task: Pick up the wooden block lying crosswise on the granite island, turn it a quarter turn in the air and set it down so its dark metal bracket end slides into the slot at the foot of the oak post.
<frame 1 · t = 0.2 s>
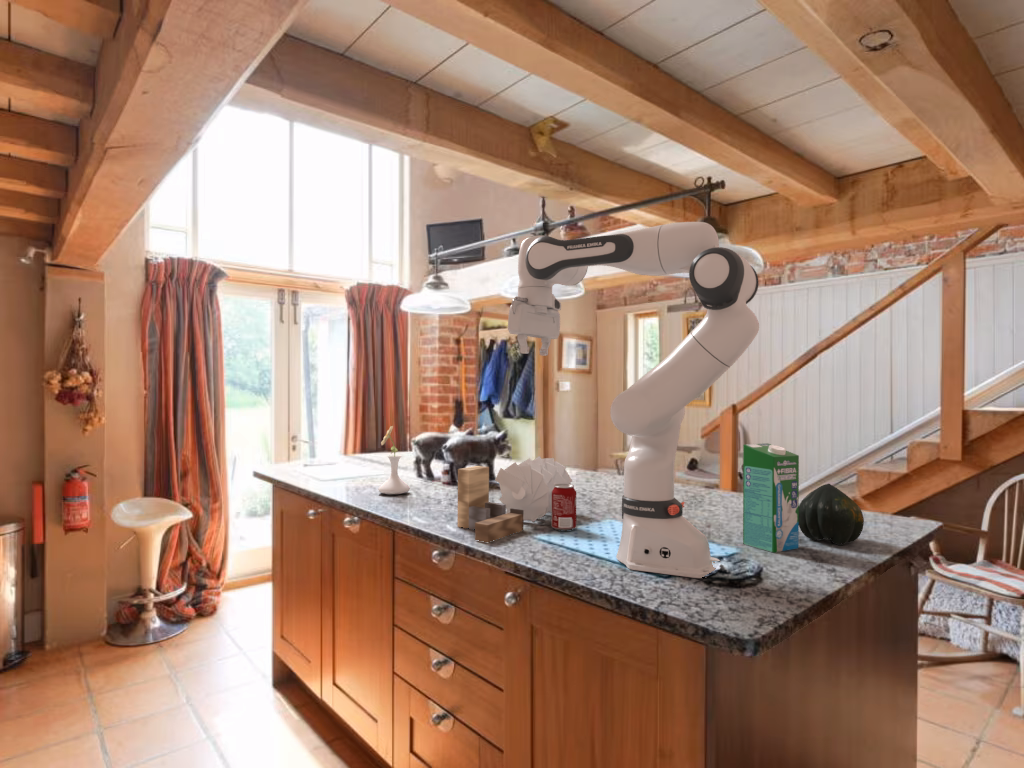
hand: (534, 354, 150), 47 cm above the worktop, tool pointing down, fingers open, 8 cm apart
wooden block: (500, 535, 153), on the worktop
soda can: (563, 529, 161), on the worktop
milk carton: (770, 547, 144), on the worktop
flower in vase: (393, 494, 212), on the worktop
post: (481, 526, 163), on the worktop
squash: (828, 541, 150), on the worktop
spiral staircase: (535, 517, 177), on the worktop
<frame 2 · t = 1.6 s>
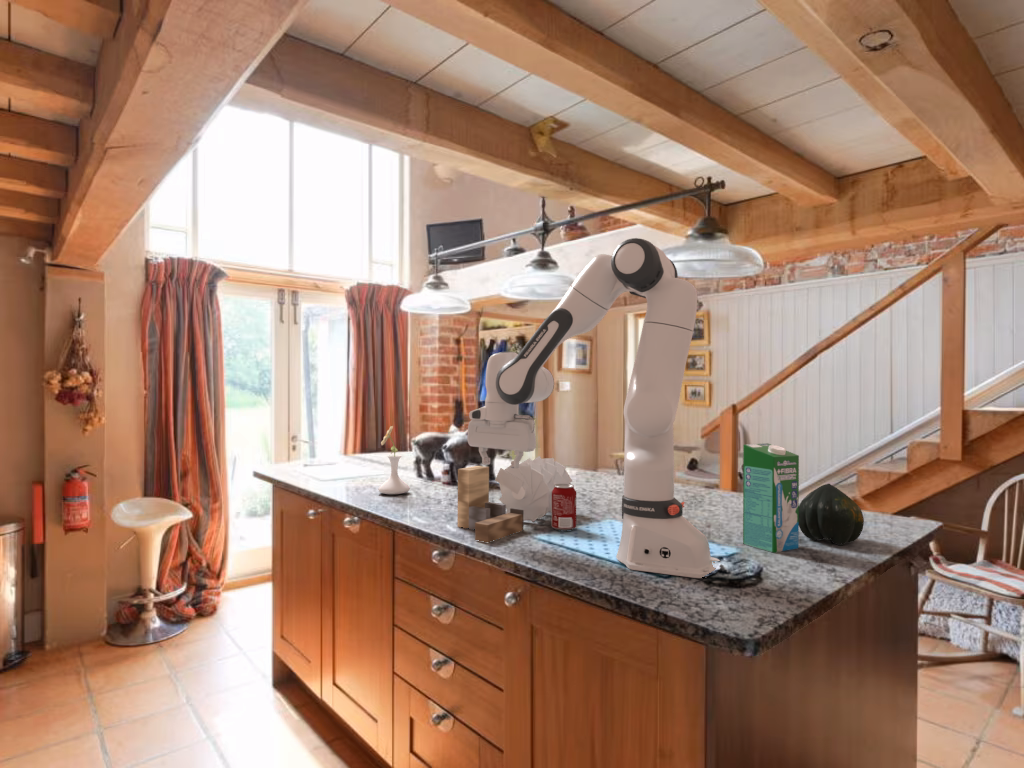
hand: (500, 466, 154), 18 cm above the worktop, tool pointing down, fingers open, 8 cm apart
nothing on the worktop moved.
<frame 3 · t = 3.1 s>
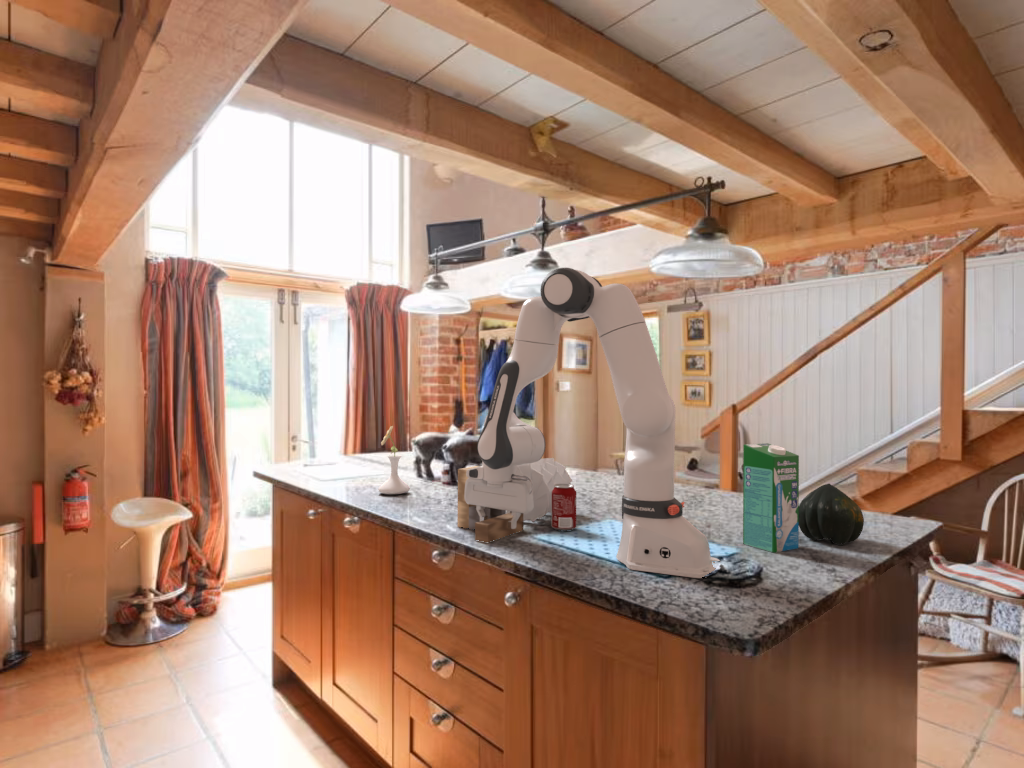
hand: (497, 525, 153), 3 cm above the worktop, tool pointing down, fingers open, 8 cm apart
nothing on the worktop moved.
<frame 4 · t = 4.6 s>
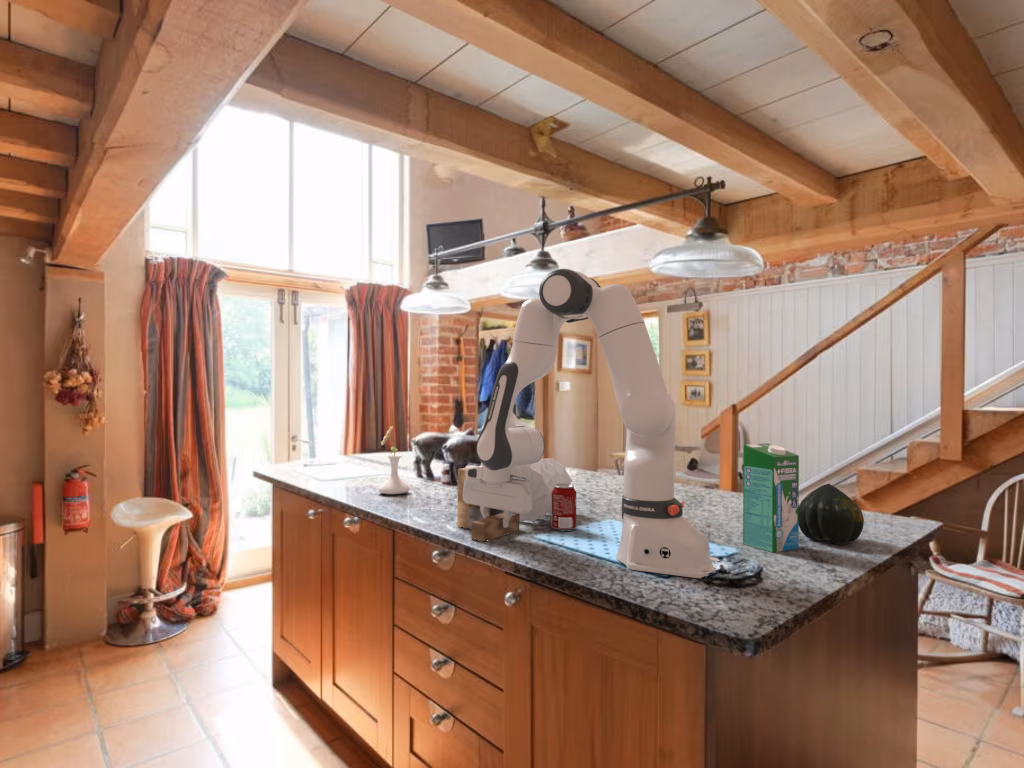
hand: (495, 525, 154), 2 cm above the worktop, tool pointing down, fingers closed on wooden block, 4 cm apart
wooden block: (496, 534, 154), on the worktop, touching gripper
everything else where it was.
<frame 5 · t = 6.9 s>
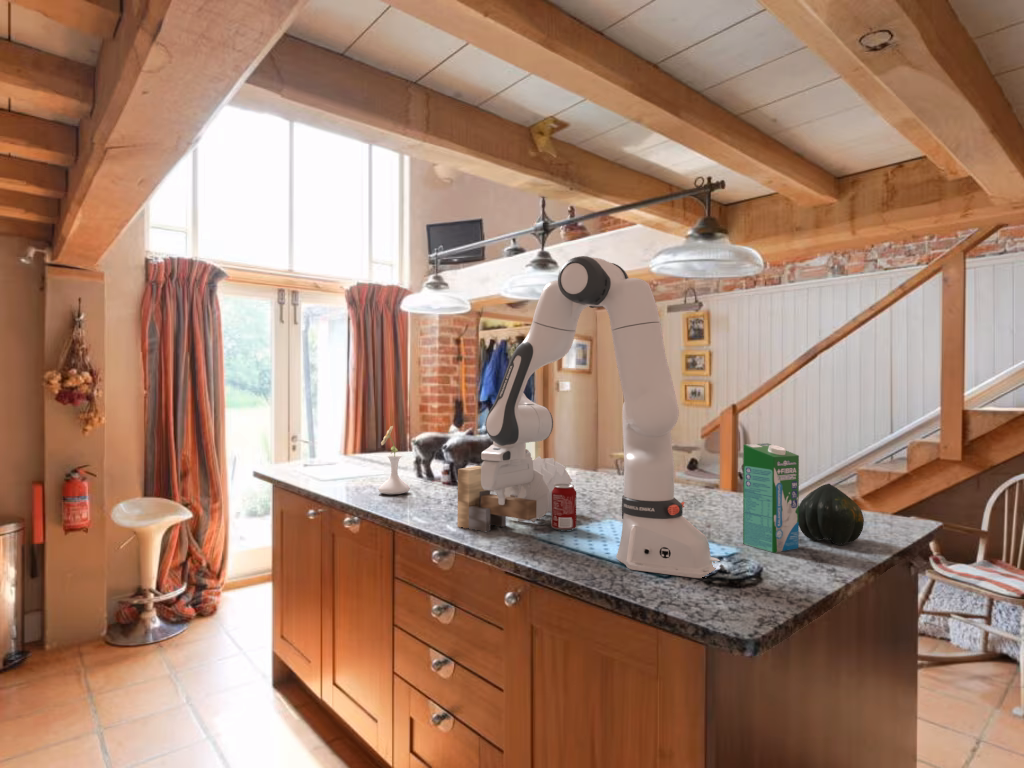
hand: (508, 502, 158), 8 cm above the worktop, tool pointing down, fingers closed on wooden block, 4 cm apart
wooden block: (507, 514, 158), point 4 cm above the worktop, touching gripper
everything else where it was.
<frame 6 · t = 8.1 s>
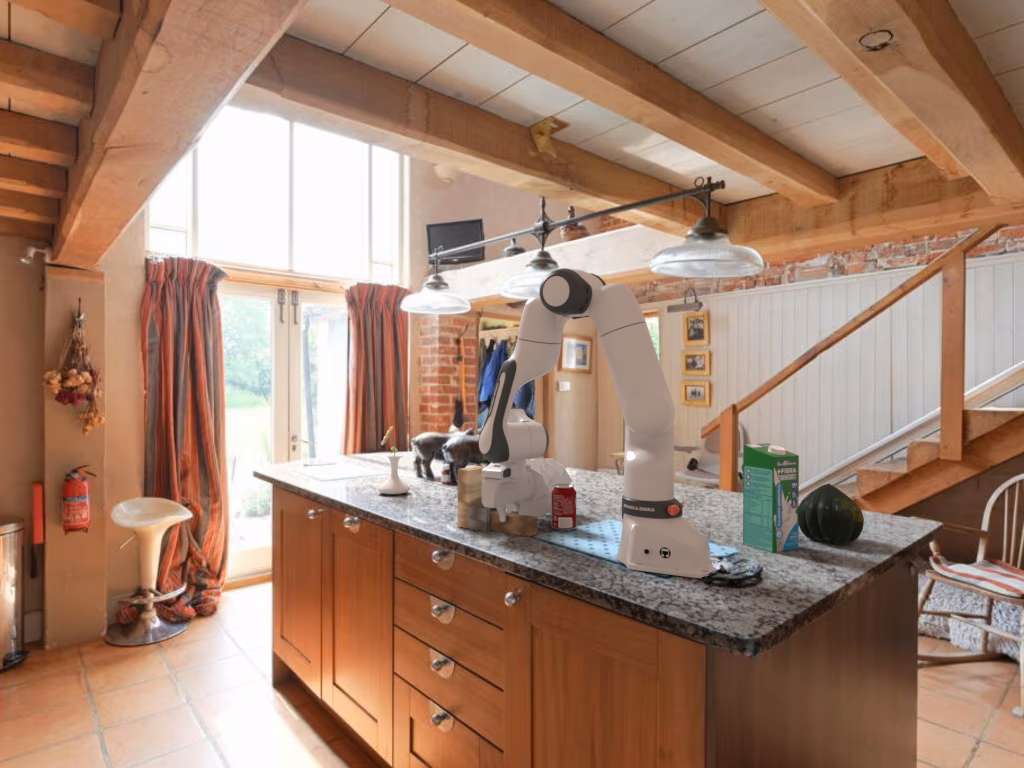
hand: (509, 519, 158), 3 cm above the worktop, tool pointing down, fingers closed on wooden block, 4 cm apart
wooden block: (508, 531, 158), on the worktop, touching gripper
everything else where it was.
when the fingers open (3 cm above the worktop, at t = 8.6 s): wooden block stays where it is, on the worktop.
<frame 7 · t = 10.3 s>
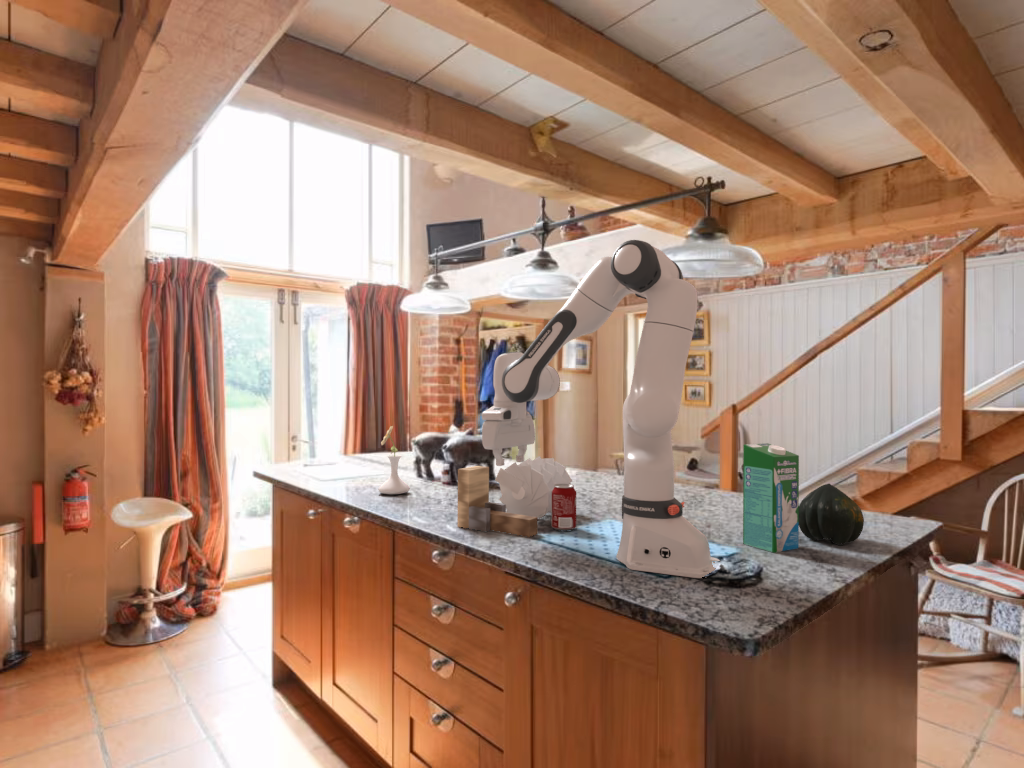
hand: (510, 463, 158), 18 cm above the worktop, tool pointing down, fingers open, 8 cm apart
wooden block: (508, 531, 158), on the worktop
everything else where it was.
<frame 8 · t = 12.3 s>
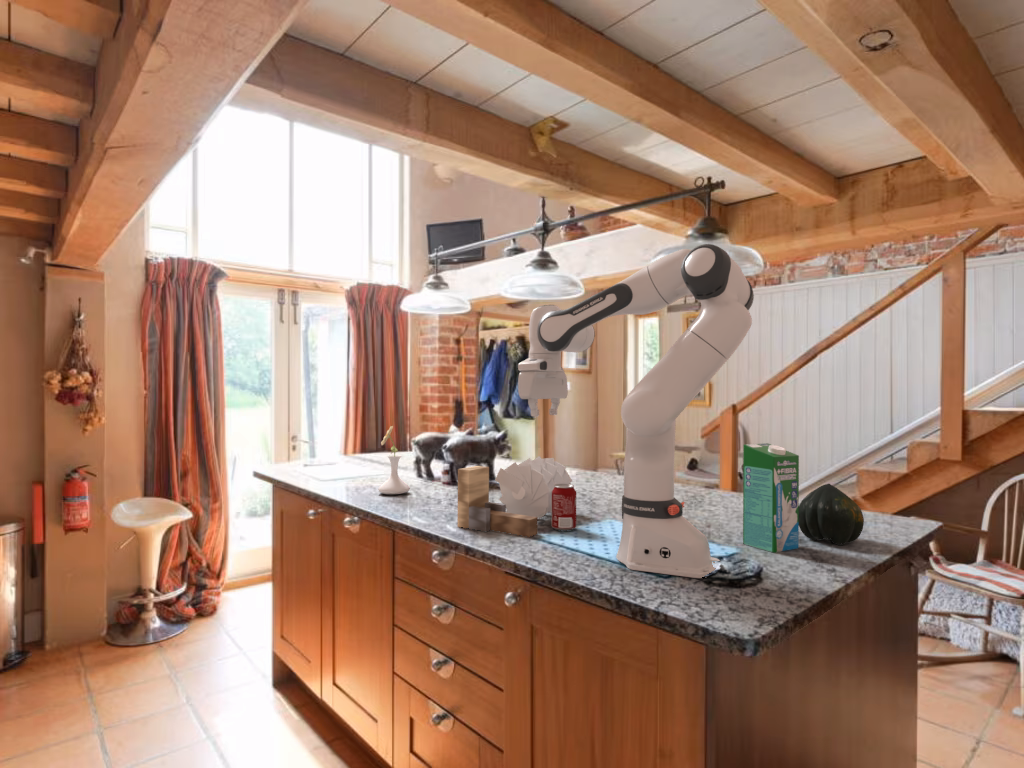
hand: (544, 415, 160), 31 cm above the worktop, tool pointing down, fingers open, 8 cm apart
nothing on the worktop moved.
at the end: wooden block 0.3 cm from the target spot on the worktop beside the post, on the worktop; wooden block tilted 0°; the gripper is holding nothing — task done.
